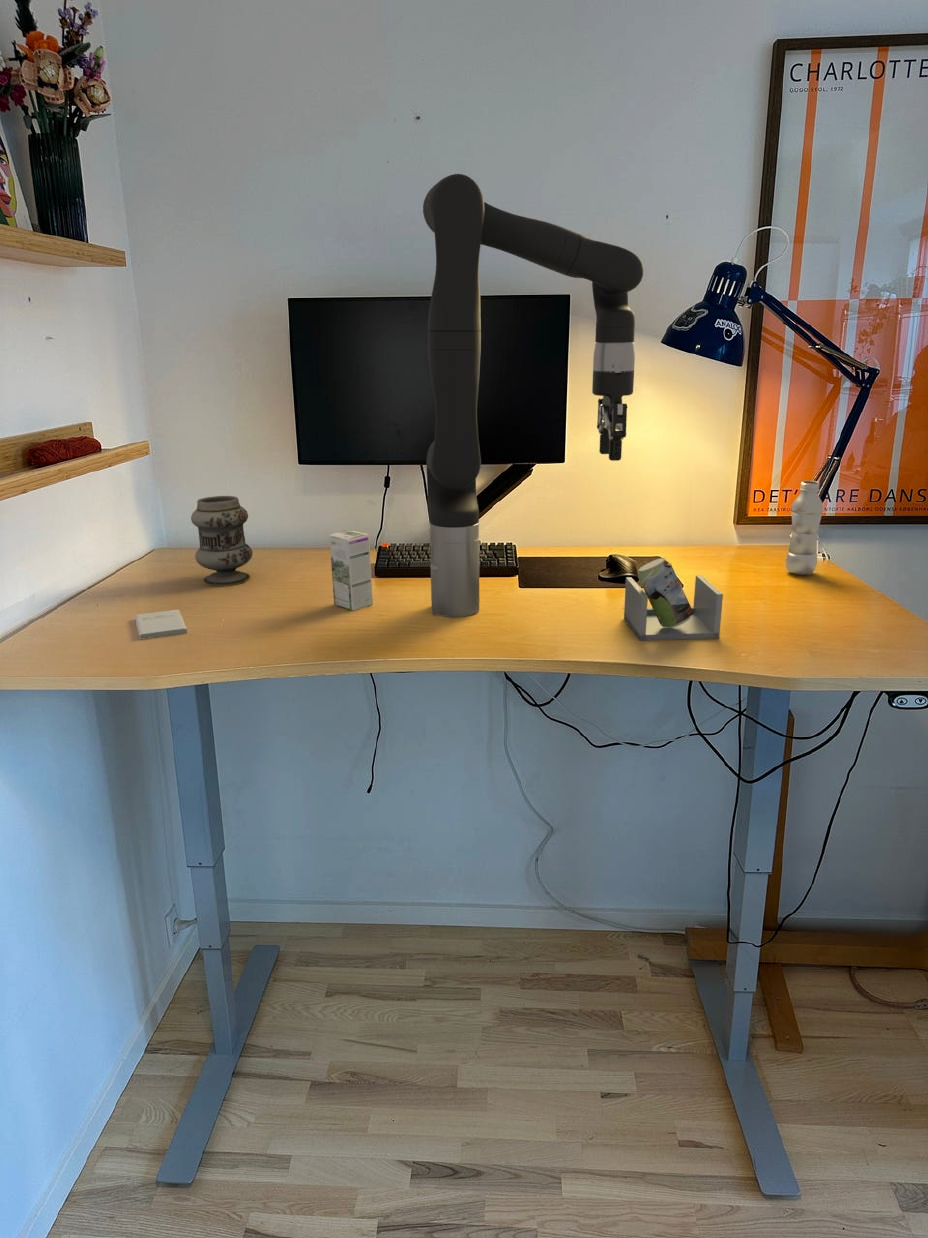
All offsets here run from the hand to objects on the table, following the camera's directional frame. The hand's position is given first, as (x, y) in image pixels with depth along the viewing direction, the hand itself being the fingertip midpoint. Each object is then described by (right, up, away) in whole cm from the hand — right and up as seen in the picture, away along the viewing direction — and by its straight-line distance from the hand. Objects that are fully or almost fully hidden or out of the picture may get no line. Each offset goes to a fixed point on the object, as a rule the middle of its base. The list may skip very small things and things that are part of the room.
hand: (609, 456), depth 166 cm
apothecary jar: (-80, -22, +25) cm, 87 cm away
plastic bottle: (+45, -21, +24) cm, 56 cm away
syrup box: (-50, -28, +7) cm, 57 cm away
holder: (+9, -32, -9) cm, 35 cm away
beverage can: (+9, -32, -12) cm, 35 cm away
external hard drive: (-84, -33, -4) cm, 90 cm away
